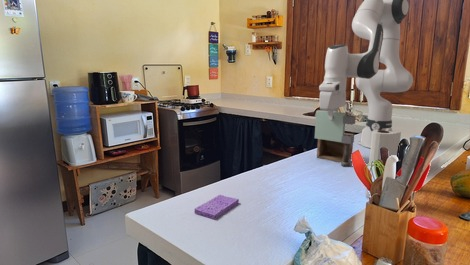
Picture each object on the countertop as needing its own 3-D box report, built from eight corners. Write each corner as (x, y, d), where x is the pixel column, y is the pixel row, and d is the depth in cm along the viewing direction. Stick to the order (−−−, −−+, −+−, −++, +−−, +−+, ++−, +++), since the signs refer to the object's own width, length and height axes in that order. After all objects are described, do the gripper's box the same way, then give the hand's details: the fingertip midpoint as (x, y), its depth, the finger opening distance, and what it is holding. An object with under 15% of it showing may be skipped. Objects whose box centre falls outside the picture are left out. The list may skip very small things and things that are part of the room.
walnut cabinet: (325, 153, 149) (326, 126, 146) (359, 159, 139) (361, 130, 137) (312, 160, 138) (313, 131, 135) (348, 167, 128) (351, 136, 126)
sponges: (194, 214, 87) (194, 208, 87) (219, 199, 98) (219, 193, 98) (214, 221, 84) (214, 214, 83) (239, 204, 94) (239, 198, 94)
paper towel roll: (363, 198, 98) (369, 131, 93) (369, 192, 102) (375, 128, 98) (387, 205, 93) (395, 134, 89) (393, 198, 98) (401, 131, 93)
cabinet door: (317, 137, 139) (318, 110, 136) (353, 142, 129) (356, 113, 127) (313, 138, 136) (315, 111, 133) (350, 144, 126) (353, 114, 124)
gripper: (336, 84, 138) (334, 115, 141) (317, 86, 122) (315, 121, 125) (350, 84, 134) (348, 116, 137) (333, 87, 119) (330, 123, 121)
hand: (332, 119), depth 131 cm, fingers closed on cabinet door, 2 cm apart
